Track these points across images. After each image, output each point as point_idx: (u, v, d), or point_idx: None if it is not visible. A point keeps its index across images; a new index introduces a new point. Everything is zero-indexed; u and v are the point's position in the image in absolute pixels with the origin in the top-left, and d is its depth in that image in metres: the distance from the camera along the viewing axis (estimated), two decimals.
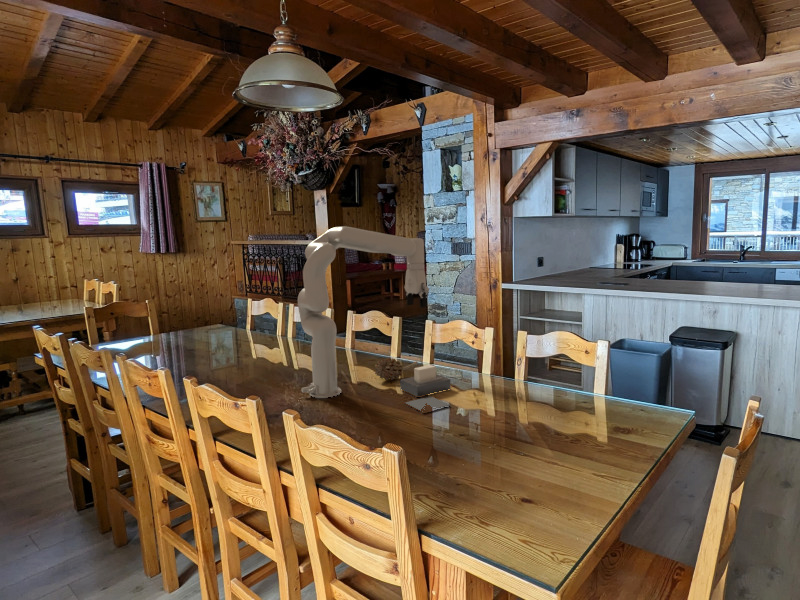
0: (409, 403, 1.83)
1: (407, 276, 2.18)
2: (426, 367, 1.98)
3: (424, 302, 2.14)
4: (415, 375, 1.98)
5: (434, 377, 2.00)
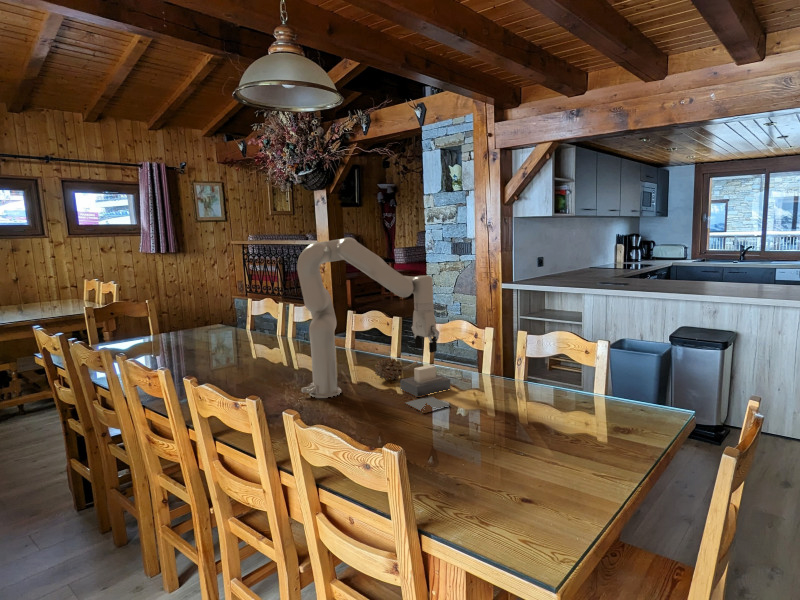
0: (409, 403, 1.83)
1: (415, 317, 1.97)
2: (426, 367, 1.98)
3: (434, 347, 1.93)
4: (415, 375, 1.98)
5: (434, 377, 2.00)
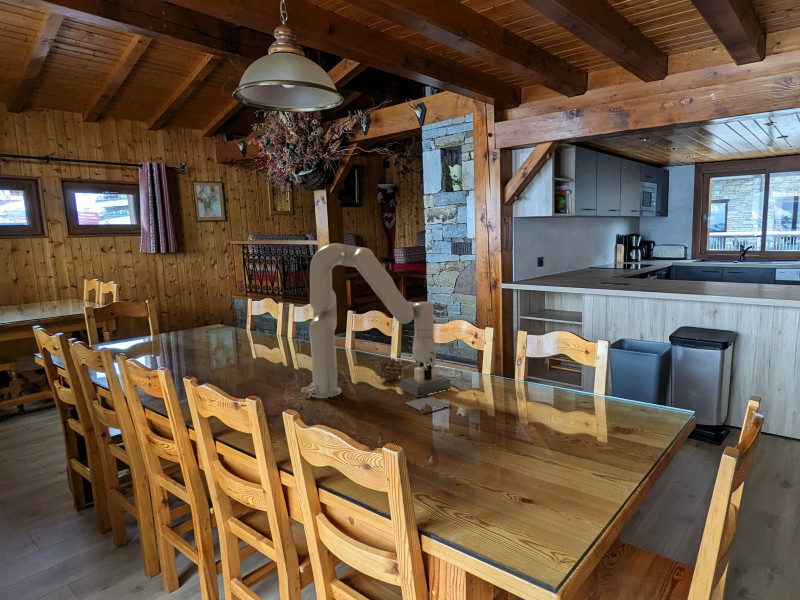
0: (409, 403, 1.83)
1: (415, 343, 1.99)
2: None
3: (429, 374, 1.97)
4: (415, 375, 1.98)
5: (434, 377, 2.00)
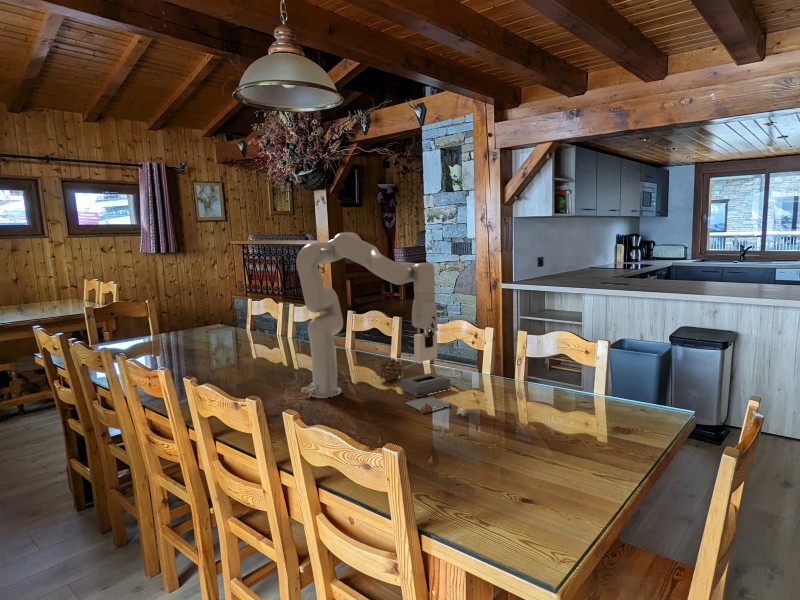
0: (409, 403, 1.83)
1: (414, 308, 1.83)
2: None
3: (430, 341, 1.82)
4: (415, 342, 1.83)
5: (435, 345, 1.85)
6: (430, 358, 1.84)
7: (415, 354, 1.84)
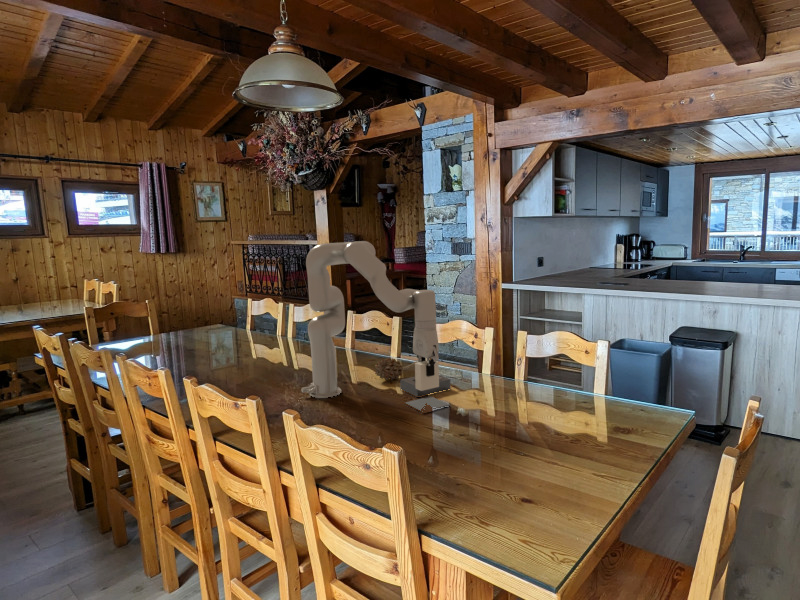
0: (409, 403, 1.83)
1: (415, 335, 1.80)
2: None
3: (432, 370, 1.78)
4: (416, 371, 1.79)
5: (437, 373, 1.81)
6: (431, 387, 1.81)
7: (416, 382, 1.80)
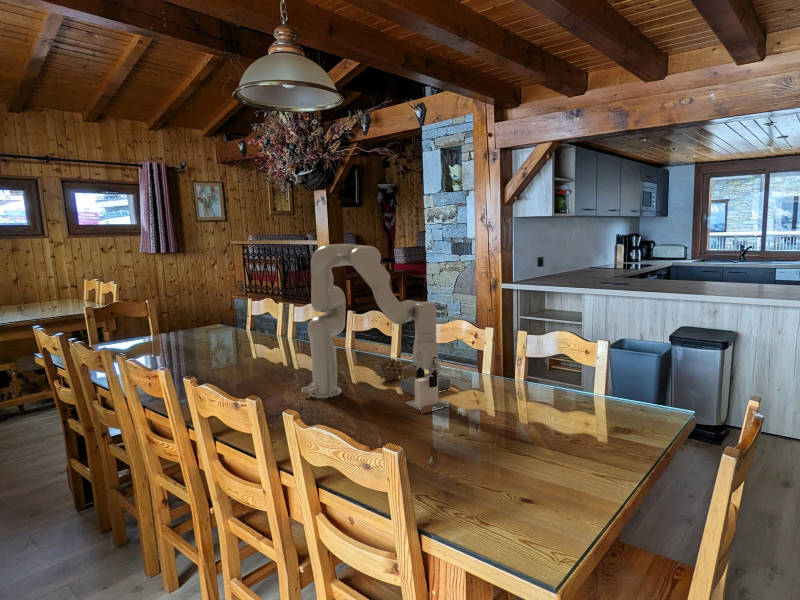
0: (409, 403, 1.83)
1: (415, 347, 1.80)
2: (427, 379, 1.80)
3: (434, 381, 1.77)
4: (415, 387, 1.80)
5: (436, 389, 1.82)
6: (431, 403, 1.81)
7: (415, 399, 1.81)
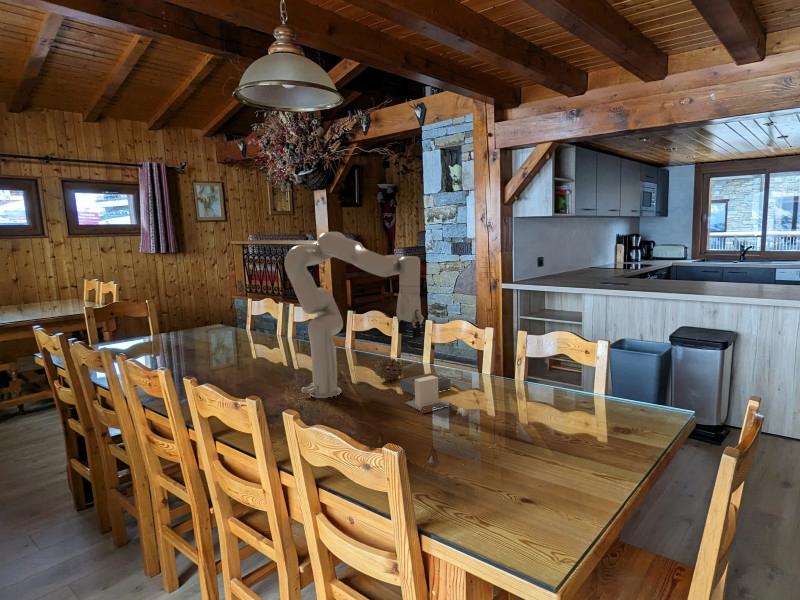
0: (409, 403, 1.83)
1: (399, 300, 1.85)
2: (427, 379, 1.80)
3: (417, 332, 1.81)
4: (415, 387, 1.80)
5: (436, 389, 1.82)
6: (431, 403, 1.81)
7: (415, 399, 1.81)
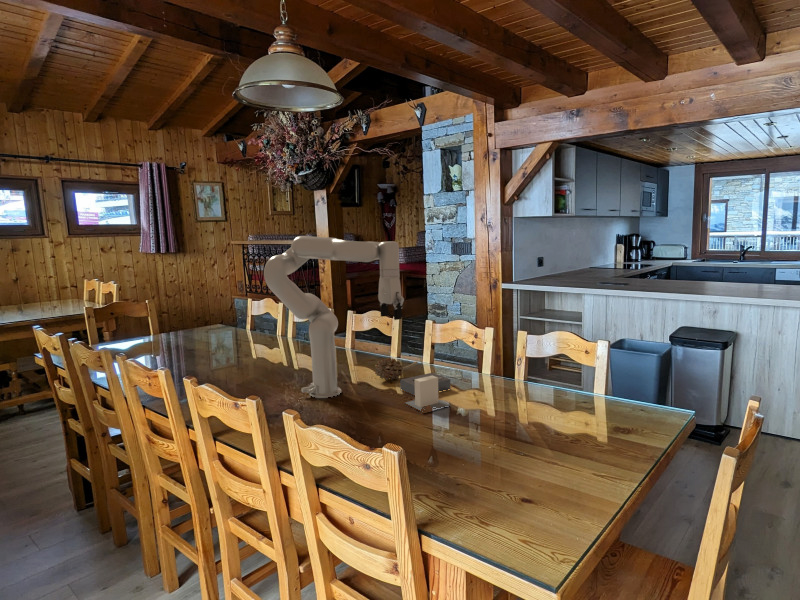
0: (409, 403, 1.83)
1: (380, 284, 1.93)
2: (427, 379, 1.80)
3: (399, 314, 1.89)
4: (415, 387, 1.80)
5: (436, 389, 1.82)
6: (431, 403, 1.81)
7: (415, 399, 1.81)
